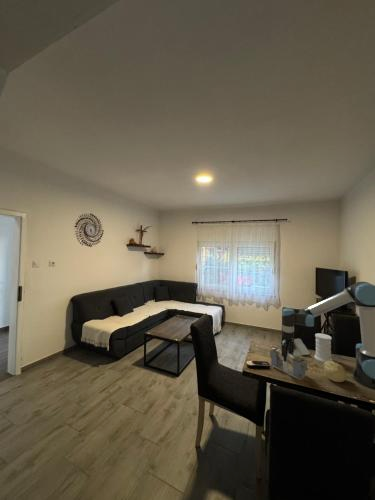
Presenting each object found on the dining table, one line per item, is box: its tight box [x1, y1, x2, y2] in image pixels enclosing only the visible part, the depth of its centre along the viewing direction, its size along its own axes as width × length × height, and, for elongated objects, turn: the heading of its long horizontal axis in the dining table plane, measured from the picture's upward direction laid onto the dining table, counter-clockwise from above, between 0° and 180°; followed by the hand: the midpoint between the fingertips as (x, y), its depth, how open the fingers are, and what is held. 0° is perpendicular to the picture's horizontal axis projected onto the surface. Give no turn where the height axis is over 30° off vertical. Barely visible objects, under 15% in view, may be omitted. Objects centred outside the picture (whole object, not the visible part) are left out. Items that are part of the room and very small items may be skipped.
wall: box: [293, 338, 311, 357], centre depth 175 cm, size 16×9×15 cm
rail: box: [275, 348, 303, 365], centre depth 146 cm, size 17×4×4 cm, turn 35°
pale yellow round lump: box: [322, 360, 347, 383], centre depth 137 cm, size 12×12×11 cm
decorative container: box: [314, 332, 333, 363], centre depth 163 cm, size 12×12×18 cm
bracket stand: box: [269, 347, 308, 381], centre depth 146 cm, size 22×9×11 cm, turn 35°
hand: (287, 364), depth 146 cm, fingers closed on rail, 4 cm apart
